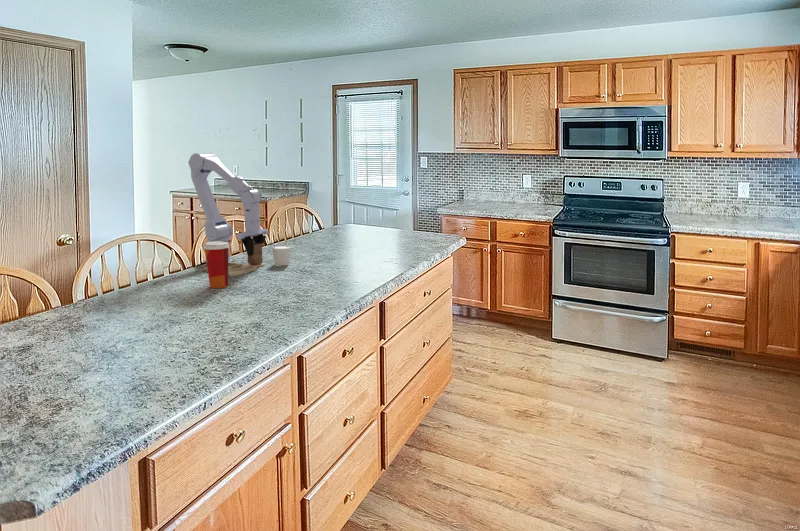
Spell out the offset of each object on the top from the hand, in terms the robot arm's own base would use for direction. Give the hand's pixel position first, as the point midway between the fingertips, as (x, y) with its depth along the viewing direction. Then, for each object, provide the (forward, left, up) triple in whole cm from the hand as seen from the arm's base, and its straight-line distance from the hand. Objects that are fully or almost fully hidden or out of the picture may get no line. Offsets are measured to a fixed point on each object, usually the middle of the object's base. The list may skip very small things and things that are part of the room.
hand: (254, 254), depth 227 cm
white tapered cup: (+8, +7, -5) cm, 12 cm away
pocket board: (-1, -12, -4) cm, 13 cm away
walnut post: (0, 0, -4) cm, 4 cm away
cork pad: (0, 0, -4) cm, 4 cm away
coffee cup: (+14, -31, -5) cm, 34 cm away
